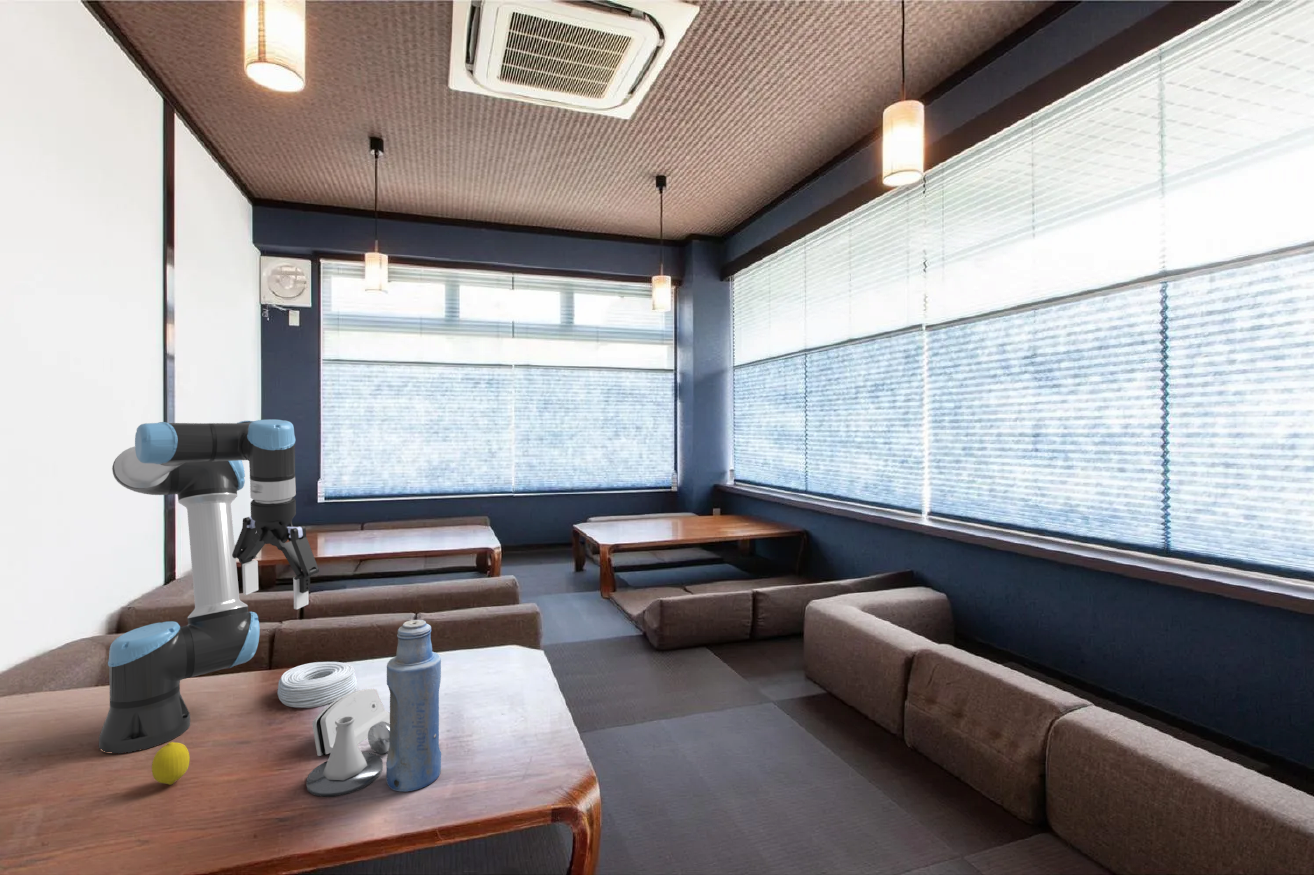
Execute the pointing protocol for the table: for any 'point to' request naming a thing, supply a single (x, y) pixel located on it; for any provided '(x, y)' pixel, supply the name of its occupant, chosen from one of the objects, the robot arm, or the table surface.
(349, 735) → the flask
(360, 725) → the white flat angled piece
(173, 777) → the lemon
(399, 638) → the bottle
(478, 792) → the table surface
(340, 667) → the cable
